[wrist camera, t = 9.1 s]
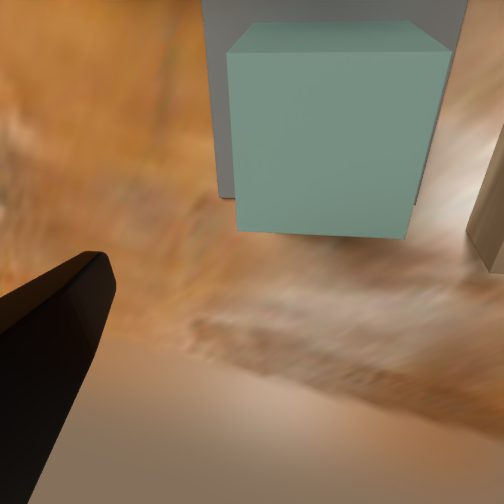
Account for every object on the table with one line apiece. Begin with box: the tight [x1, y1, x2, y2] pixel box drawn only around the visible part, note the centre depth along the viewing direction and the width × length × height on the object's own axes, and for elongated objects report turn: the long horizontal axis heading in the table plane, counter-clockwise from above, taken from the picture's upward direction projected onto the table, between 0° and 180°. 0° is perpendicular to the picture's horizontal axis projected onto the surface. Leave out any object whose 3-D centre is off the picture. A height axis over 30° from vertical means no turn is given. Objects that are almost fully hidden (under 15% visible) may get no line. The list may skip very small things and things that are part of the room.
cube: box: [226, 20, 452, 239], centre depth 15 cm, size 6×6×6 cm
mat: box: [202, 0, 468, 205], centre depth 17 cm, size 10×10×1 cm
